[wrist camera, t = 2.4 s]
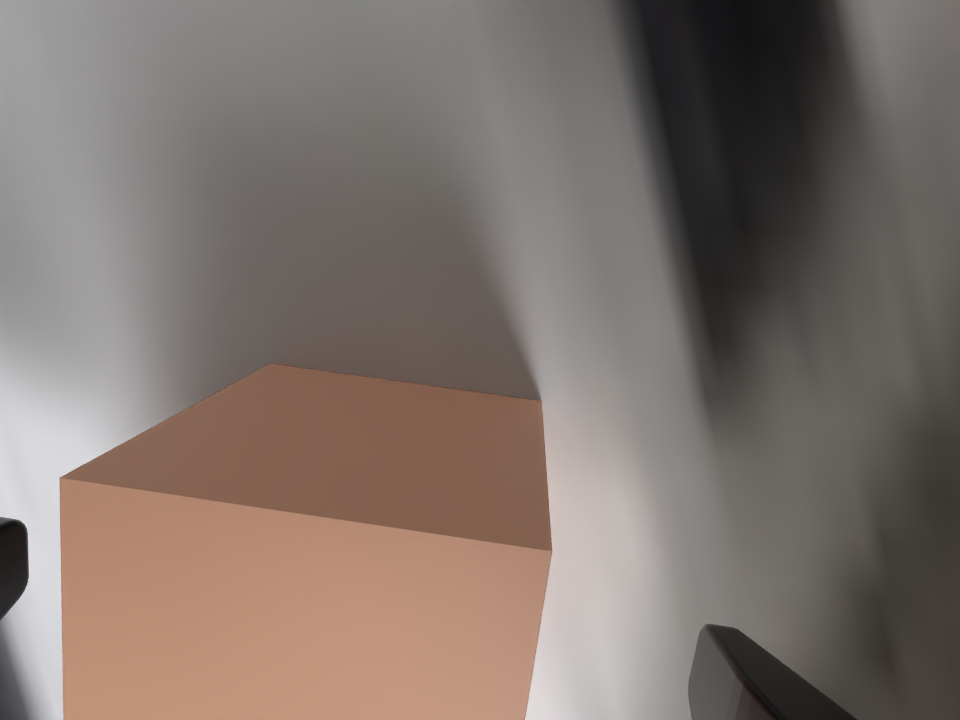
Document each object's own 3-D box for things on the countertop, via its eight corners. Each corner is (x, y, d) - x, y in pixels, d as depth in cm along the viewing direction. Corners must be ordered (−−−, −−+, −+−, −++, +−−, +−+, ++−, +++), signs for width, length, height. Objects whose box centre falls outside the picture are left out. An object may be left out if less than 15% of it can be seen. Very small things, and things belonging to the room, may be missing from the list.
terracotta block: (541, 399, 11) (552, 551, 6) (505, 642, 12) (487, 949, 7) (271, 362, 11) (58, 477, 6) (258, 603, 12) (65, 873, 7)
